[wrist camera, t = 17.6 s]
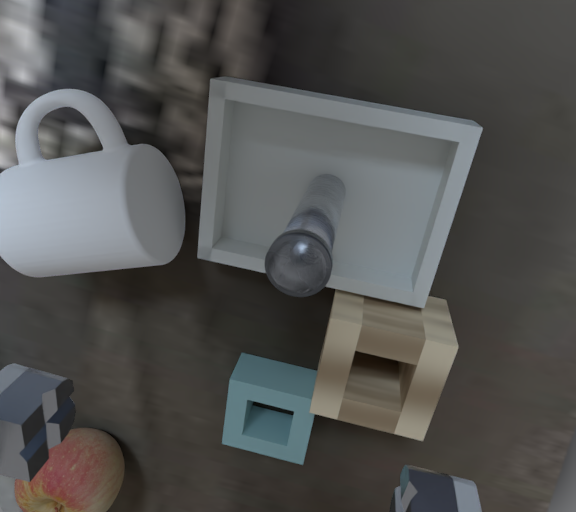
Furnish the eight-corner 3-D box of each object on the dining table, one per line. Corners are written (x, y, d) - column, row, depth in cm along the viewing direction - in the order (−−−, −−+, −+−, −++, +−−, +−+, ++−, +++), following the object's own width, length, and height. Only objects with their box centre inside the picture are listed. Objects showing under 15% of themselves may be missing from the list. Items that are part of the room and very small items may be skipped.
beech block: (338, 276, 34) (330, 317, 29) (446, 299, 34) (458, 347, 28) (319, 361, 38) (309, 412, 32) (416, 384, 37) (422, 441, 32)
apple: (42, 424, 47) (-19, 491, 40) (103, 399, 44) (49, 466, 37) (93, 483, 50) (45, 556, 42) (155, 463, 47) (114, 538, 39)
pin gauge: (308, 166, 31) (269, 229, 20) (353, 175, 30) (337, 243, 20) (301, 209, 32) (260, 288, 21) (343, 217, 32) (324, 303, 21)
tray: (225, 76, 30) (210, 78, 27) (473, 120, 28) (483, 127, 26) (211, 242, 35) (197, 257, 33) (420, 287, 34) (424, 308, 31)
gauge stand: (241, 352, 39) (229, 379, 36) (323, 372, 38) (317, 400, 35) (233, 414, 42) (221, 443, 39) (308, 433, 41) (302, 465, 38)
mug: (196, 238, 35) (149, 285, 28) (84, 251, 38) (15, 297, 31) (150, 73, 31) (81, 80, 24) (27, 99, 33) (-69, 113, 26)
